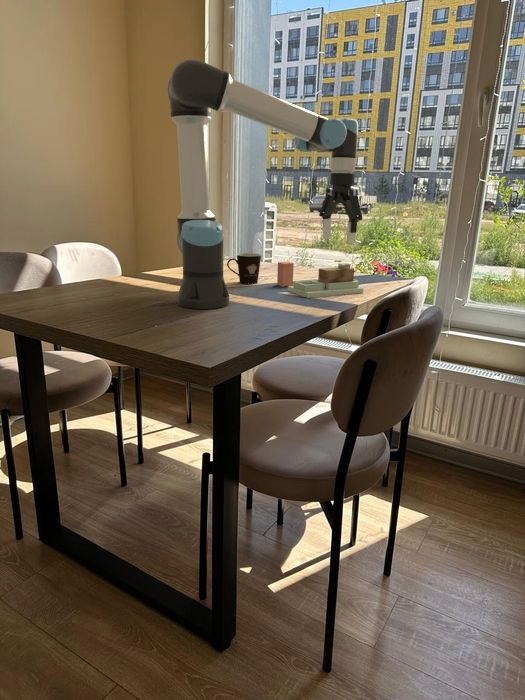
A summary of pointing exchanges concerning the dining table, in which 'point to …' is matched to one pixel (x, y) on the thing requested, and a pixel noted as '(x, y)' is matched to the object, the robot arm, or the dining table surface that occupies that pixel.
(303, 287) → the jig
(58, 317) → the dining table surface
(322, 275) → the brown wooden block
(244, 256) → the coffee mug
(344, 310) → the dining table surface
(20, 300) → the dining table surface
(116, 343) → the dining table surface
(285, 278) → the red block
